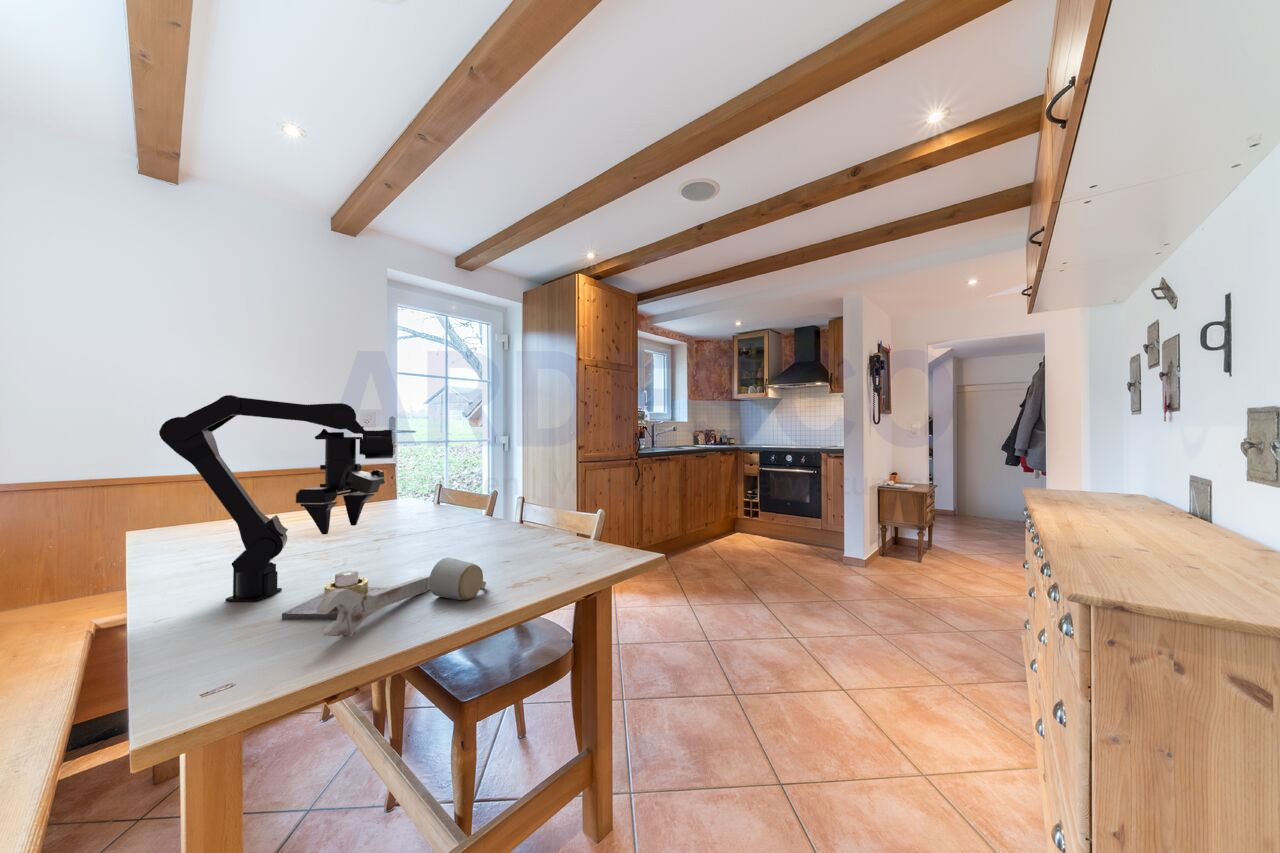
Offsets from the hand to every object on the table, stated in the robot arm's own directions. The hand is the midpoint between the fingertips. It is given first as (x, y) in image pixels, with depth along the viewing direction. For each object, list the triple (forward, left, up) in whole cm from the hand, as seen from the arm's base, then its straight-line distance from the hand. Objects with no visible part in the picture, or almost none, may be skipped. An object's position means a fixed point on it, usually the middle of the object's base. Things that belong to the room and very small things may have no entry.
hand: (339, 529), depth 100 cm
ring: (+10, -12, -10) cm, 19 cm away
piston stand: (+10, -12, -12) cm, 20 cm away
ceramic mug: (+30, -6, -12) cm, 33 cm away
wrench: (+20, -16, -12) cm, 28 cm away
